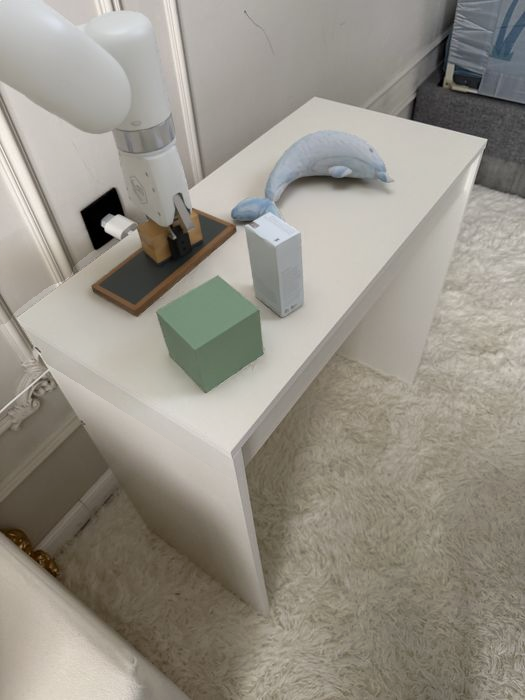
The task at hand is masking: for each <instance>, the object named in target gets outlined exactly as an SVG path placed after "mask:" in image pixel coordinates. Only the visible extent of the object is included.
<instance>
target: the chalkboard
mask: <svg viewBox="0 0 525 700" xmlns="http://www.w3.org/2000/svg"><path fill="white" fill-rule="evenodd" d="M192 211H194V212H195V213H196V214H198V218H199V223H200V228H201V233H202V238H203V243H201V244H199V245H197V246H195V247H194V248H192V251H191V252H190V253H189V254H187V255H185V256H183V257H182V258H180V259H178V260H174V259H172V260H170V261H168V262H166V263H165V264H163V265H161V266H158V265H156V264H155V263H154V262H153V261H152V260H151V259H150V258H149V257H148V256H146V255H145V253H144V250H143V247H142V246H140V247H139V248H138V249H137V250H135V251H134V252H133V253H132V254H130V255H129V256H127V258H125V259H123V261H121V262H120V263H119V264H117V265H116V266H115V267H114V268H112V269H111V270H110V271H108V272H107V273H106V274H104V275H103V276H102V277H101V278H99V279H98V280H97V281H95V282H94V283H92V284H91V285H90V288H91V291H92V293H94V294H96V295H98V296H99V297H101V298H102V299H104V300H106V301H108V302H110V303H112V304H113V305H114V306H117V307H119V308H121V309H122V310H124V311H126V312H128V313H129V314H131V315H132V316H135V317H139V316H140V315H141V314H142V313H144V312H145V311H146V310H147V309H148V308H149V307H150V306H151V305H153V304H154V303H155V302H156V301H157V300H159V299H160V298H161V297H162V296H163V295H164V294H166V293H167V292H168V291H169V290H170V289H171V288H173V287H174V286H175V285H176V284H177V283H178V282H180V281H181V280H182V279H183V278H185V276H187V275H188V274H189V273H190V272H191V271H192V270H193V269H195V268H196V267H197V266H199V264H201V263H202V262H203V261H204V260H205V259H207V258H208V257H209V256H210V255H211V254H212V253H213V252H215V251H216V250H217V249H218V248H220V246H221V245H223V244H224V243H225V242H226V241H227V240H229V239H230V238H231V237H232V236H233V235H234V234H235V233H237V225H236V224H234V223H231V222H229V221H226V220H224V219H221V218H219V217H216V216H214V215H212V214H209V213H206V212H204V211H201V210H199V209H197V208H194V207H192Z"/></svg>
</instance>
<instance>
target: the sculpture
mask: <svg viewBox="0 0 525 700" xmlns="http://www.w3.org/2000/svg"><path fill="white" fill-rule="evenodd" d="M312 176H314V177H315V176H326V177H327V176H328V177H329V176H330V177H332V178H338V179H340V178H353V179H367V180H372V181H373V180H374V181H377V180H378V181H380V182H383V183H386V184H390V183H394V182H395V179H394V178H393V177H392V175H390V174H389V173H387V167H386V164H385V162H384V160H383V159H382V157H381V155H380V154H379V153H378V152H377V150H376V149H375V148H374V147H373V146H372V145H371V144H370V143H368V141H366V140H365V139H363V138H361V137H358V136H356V135H354V134H351V133H349V132H345V131H341V130H333V129H328V130H327V129H326V130H319V131H316V132H312V133H309V134H307V135H305V136H302V137H301V138H299V139H298V140H296V141H295V142H294V143H292V144H291V146H289V147H288V148H287V149H286V150H285V152H283V154H282V155H281V156H280V157H279V158H278V160H277V162H275V164H274V166H273V168H272V170H271V171H270V173H269V175H268V178H267V182H266V184H265V188H264V197H247V198H244V199H243V200H241V201H240V202H238V203H237V204H236V205H235V206H234V207H233V208H232V209H231V211H230V216H231V219H233V220H236V221H240V222H242V221H243V222H244V221H245V222H246V221H250V222H252V221H254V220H256V219H258V218H259V217H261V216H263V215H265V214H267V213H269V212H271V213H272V214H274V215H275V216H277V217H278V218H280V219H281V220H283V221H284V222H286V219H285V218H284V216H283V214H282V213H281V211H280V210H279V208H278V207H277V205H276V203H275V202H277V201H279V199H280V197H281V195H282V193H283V192H284V191H285V189H287V187H288V186H290V184H291V183H292V182H294V181H296V180H297V179H299V178H304V177H312ZM286 223H287V222H286Z"/></svg>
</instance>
